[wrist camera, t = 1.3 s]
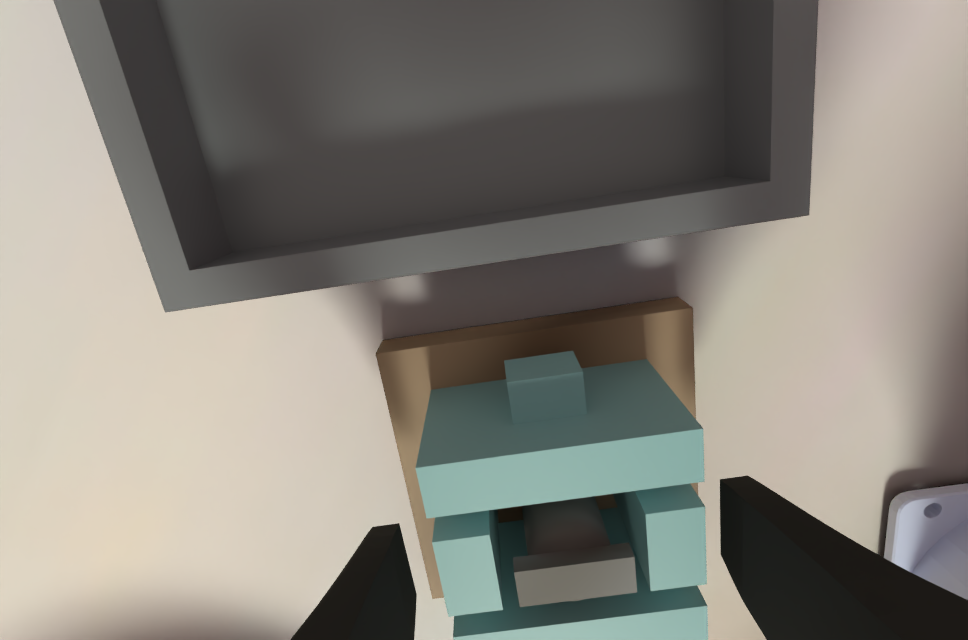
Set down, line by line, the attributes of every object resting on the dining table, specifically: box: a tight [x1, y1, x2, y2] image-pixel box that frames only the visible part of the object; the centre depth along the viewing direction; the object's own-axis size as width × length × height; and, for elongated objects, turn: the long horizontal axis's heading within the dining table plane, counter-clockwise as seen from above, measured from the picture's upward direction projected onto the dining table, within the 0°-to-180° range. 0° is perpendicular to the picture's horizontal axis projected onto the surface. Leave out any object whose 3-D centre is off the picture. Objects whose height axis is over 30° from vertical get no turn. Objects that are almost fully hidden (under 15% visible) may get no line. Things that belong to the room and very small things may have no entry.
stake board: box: [376, 297, 698, 607], centre depth 13 cm, size 8×8×5 cm
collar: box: [415, 351, 708, 640], centre depth 12 cm, size 6×7×4 cm
